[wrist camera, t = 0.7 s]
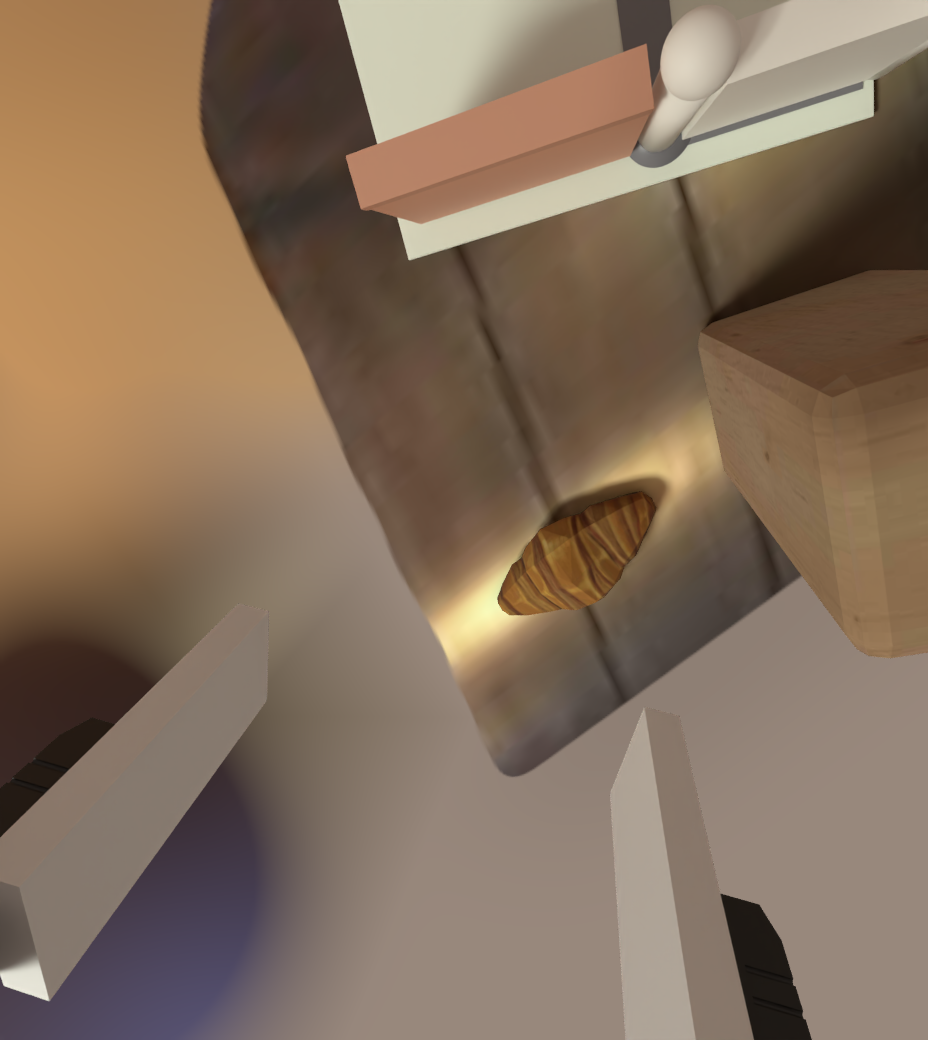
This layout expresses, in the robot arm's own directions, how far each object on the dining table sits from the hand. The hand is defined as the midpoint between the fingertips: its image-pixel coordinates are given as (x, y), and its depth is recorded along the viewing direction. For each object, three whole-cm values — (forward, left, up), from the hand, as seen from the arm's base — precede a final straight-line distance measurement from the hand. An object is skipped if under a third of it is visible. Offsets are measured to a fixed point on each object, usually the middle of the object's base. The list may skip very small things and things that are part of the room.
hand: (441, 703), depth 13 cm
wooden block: (-16, +1, -28) cm, 32 cm away
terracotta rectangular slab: (-2, -14, -26) cm, 30 cm away
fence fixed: (-15, -14, -27) cm, 34 cm away
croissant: (-1, +10, -28) cm, 30 cm away
